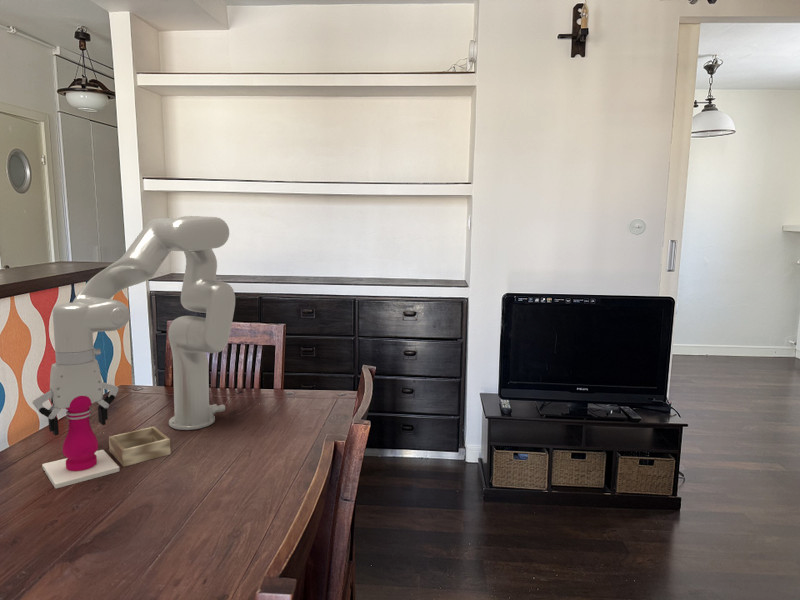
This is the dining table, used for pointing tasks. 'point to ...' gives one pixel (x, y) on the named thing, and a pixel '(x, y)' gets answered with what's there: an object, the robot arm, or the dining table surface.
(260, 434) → the dining table surface
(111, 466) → the tile
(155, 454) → the holder
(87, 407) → the pepper mill
